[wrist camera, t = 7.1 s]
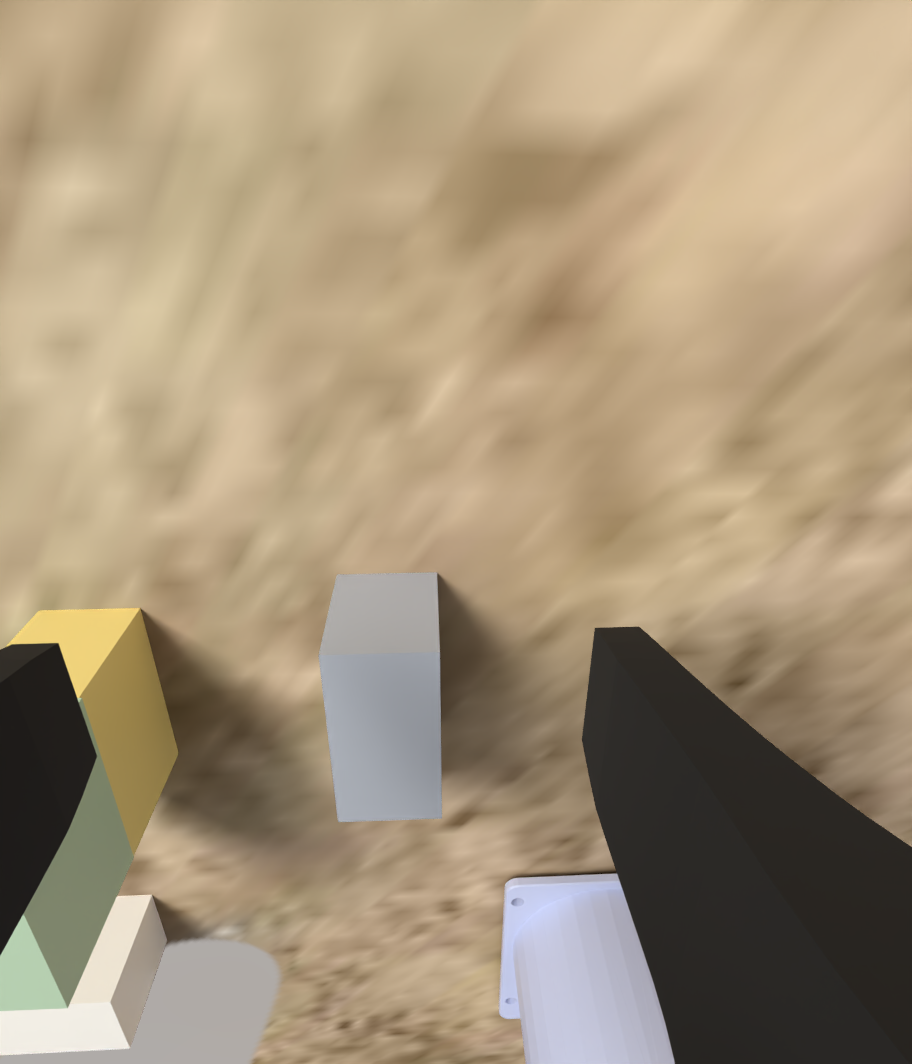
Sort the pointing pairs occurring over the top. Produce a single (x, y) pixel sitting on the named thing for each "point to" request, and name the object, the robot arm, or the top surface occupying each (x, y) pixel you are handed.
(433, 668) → the grey brick
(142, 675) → the mustard brick
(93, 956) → the cream brick
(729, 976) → the robot arm
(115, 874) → the green brick
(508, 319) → the top surface
